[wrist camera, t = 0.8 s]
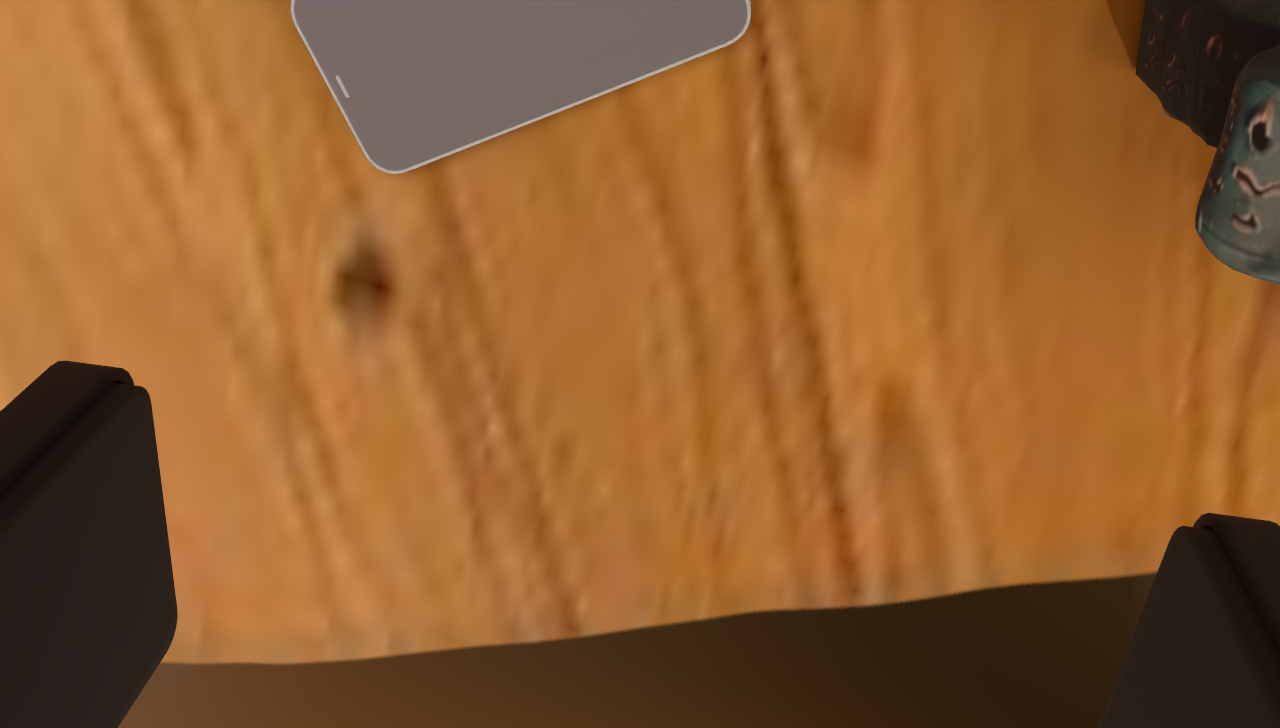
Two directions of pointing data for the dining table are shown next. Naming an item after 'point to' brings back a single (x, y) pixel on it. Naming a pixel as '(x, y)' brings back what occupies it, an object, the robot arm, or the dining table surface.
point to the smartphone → (492, 62)
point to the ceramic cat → (1225, 116)
